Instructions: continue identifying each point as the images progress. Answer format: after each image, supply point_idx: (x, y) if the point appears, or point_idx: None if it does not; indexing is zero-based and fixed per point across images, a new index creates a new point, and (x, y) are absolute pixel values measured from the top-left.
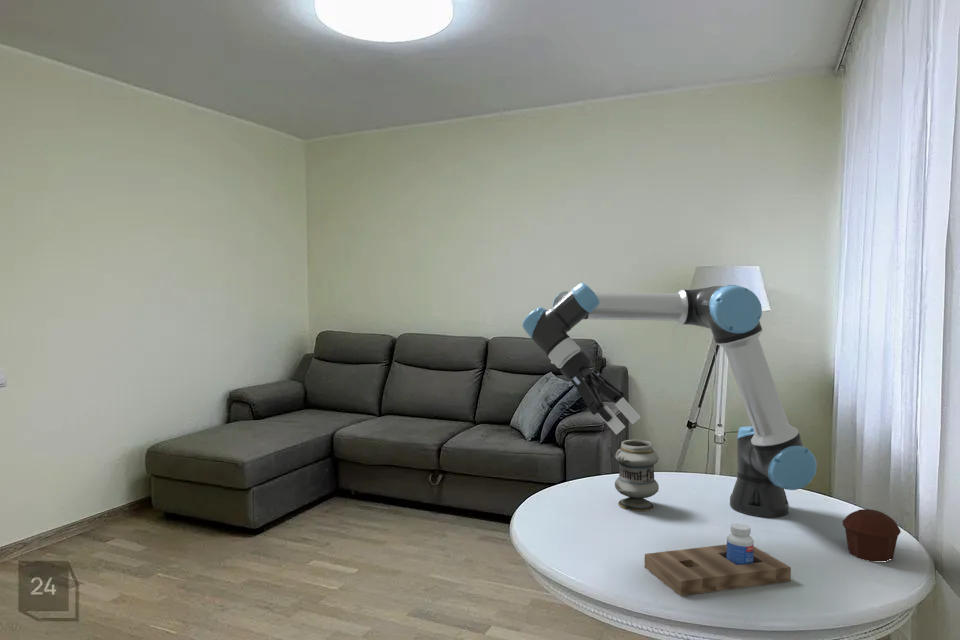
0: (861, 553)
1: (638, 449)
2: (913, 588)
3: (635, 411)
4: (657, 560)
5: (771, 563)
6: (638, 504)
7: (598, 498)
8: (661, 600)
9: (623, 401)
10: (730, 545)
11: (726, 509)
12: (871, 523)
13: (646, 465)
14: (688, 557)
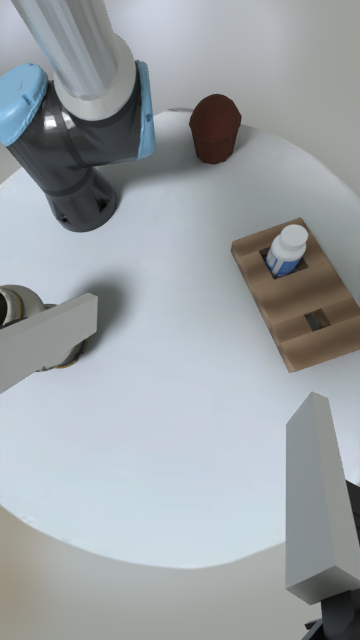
0: (227, 154)
1: (14, 318)
2: (288, 143)
3: (67, 304)
4: (316, 358)
5: None
6: None
7: (27, 395)
8: None
9: (6, 347)
10: (296, 261)
11: (87, 238)
12: (234, 113)
13: None
14: (296, 316)
